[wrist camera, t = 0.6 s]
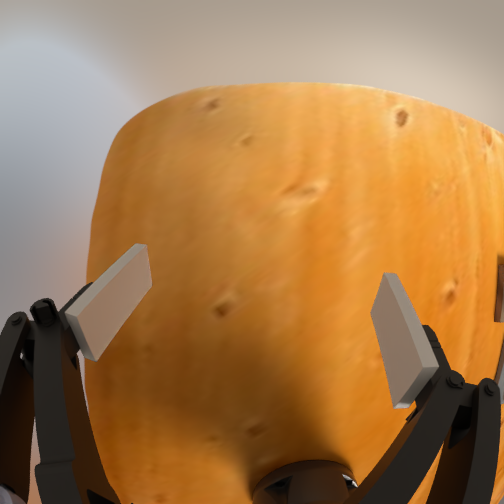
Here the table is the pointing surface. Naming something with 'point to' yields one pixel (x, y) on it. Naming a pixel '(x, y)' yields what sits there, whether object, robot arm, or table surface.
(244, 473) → the table surface
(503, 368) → the charcoal board
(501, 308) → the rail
